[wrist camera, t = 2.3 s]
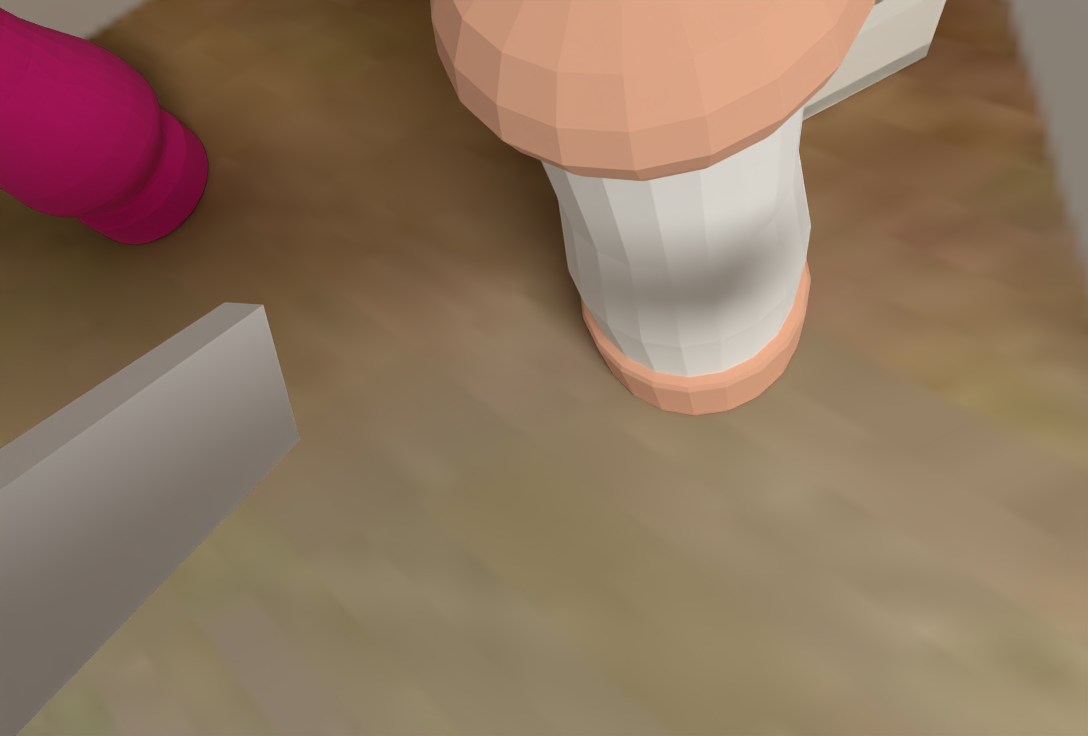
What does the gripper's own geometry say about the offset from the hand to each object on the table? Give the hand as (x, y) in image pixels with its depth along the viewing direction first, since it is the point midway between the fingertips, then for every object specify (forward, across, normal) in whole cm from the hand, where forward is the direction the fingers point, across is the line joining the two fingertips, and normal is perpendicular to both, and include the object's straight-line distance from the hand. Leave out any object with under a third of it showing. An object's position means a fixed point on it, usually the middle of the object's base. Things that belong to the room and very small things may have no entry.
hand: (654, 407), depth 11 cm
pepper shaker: (+16, -1, -6) cm, 17 cm away
